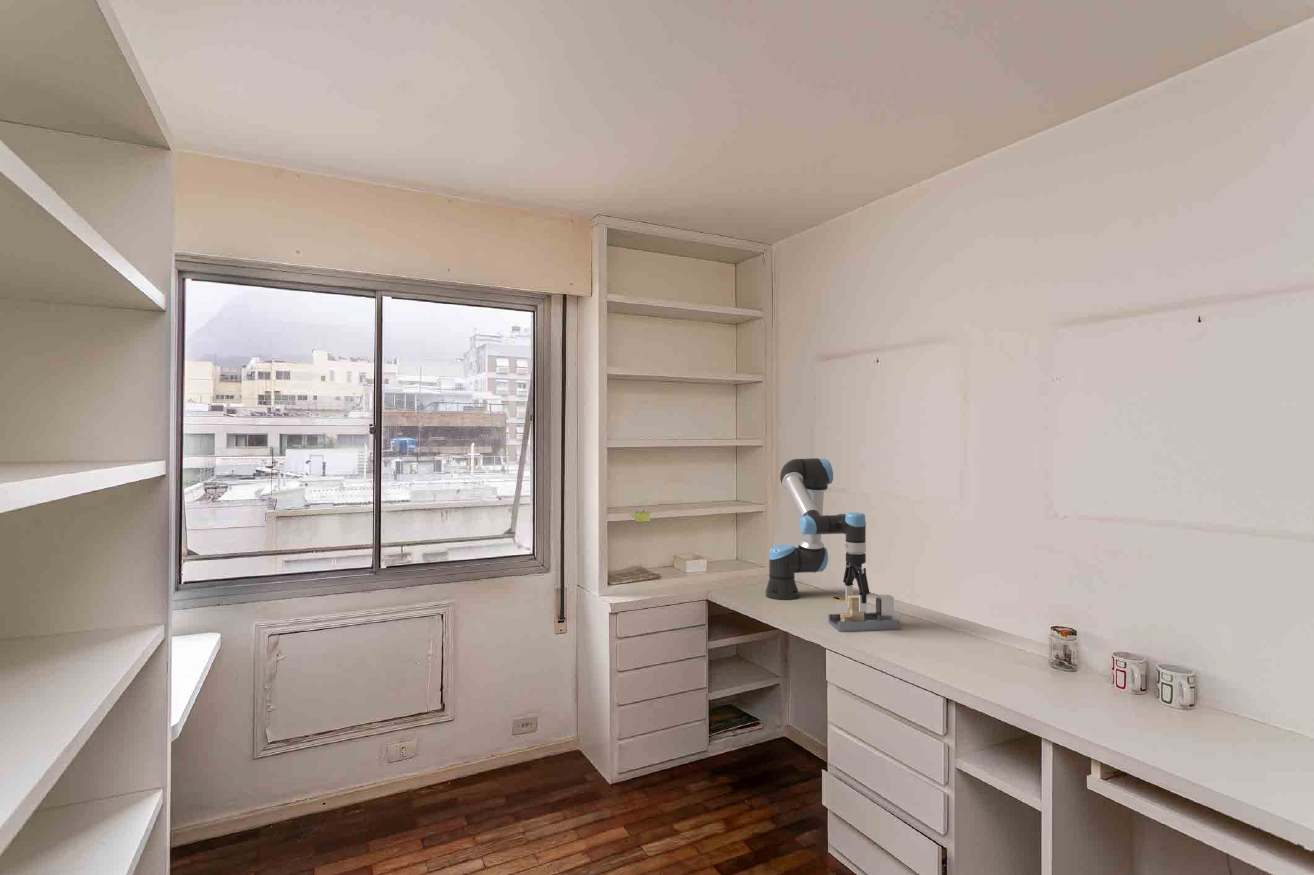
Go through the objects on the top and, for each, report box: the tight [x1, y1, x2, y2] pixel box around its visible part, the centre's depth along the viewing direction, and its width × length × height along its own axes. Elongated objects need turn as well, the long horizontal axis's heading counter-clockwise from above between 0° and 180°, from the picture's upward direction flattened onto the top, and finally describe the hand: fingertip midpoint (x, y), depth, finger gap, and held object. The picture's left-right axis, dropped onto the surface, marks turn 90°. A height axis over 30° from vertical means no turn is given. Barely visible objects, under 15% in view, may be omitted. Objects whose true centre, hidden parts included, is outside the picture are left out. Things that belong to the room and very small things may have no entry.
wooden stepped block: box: [839, 595, 866, 621], centre depth 262 cm, size 4×9×10 cm, turn 96°
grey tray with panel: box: [827, 594, 902, 633], centre depth 262 cm, size 12×26×12 cm, turn 95°
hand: (855, 606), depth 262 cm, fingers open, 13 cm apart
